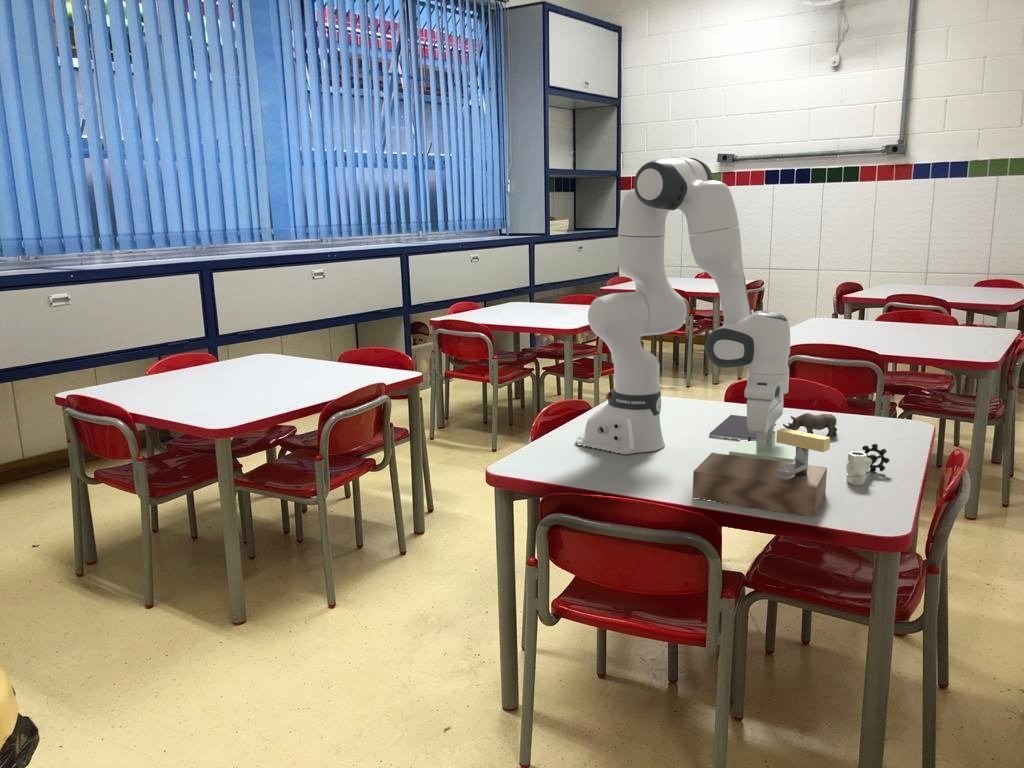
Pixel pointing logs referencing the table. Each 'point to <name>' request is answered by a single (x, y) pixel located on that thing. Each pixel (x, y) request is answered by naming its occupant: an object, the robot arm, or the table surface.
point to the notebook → (734, 429)
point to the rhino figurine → (814, 423)
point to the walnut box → (759, 484)
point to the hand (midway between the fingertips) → (765, 443)
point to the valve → (864, 464)
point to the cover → (765, 450)
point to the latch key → (800, 449)
